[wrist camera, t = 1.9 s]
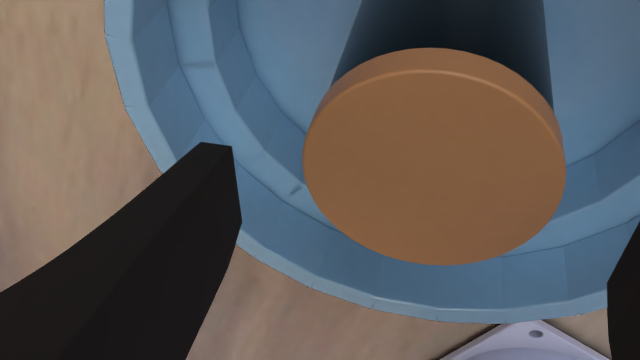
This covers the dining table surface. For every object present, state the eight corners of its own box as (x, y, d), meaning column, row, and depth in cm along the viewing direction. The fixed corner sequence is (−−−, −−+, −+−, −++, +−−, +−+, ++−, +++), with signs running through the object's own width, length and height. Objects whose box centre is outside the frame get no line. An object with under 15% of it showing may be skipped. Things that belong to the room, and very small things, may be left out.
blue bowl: (970, -53, 13) (1129, 59, 9) (484, 275, 23) (480, 381, 20) (366, -602, 10) (298, -714, 6) (118, 62, 20) (44, 146, 17)
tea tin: (593, 5, 15) (631, 173, 10) (463, 129, 18) (449, 296, 14) (430, -114, 14) (394, 14, 9) (324, 40, 17) (260, 189, 13)
